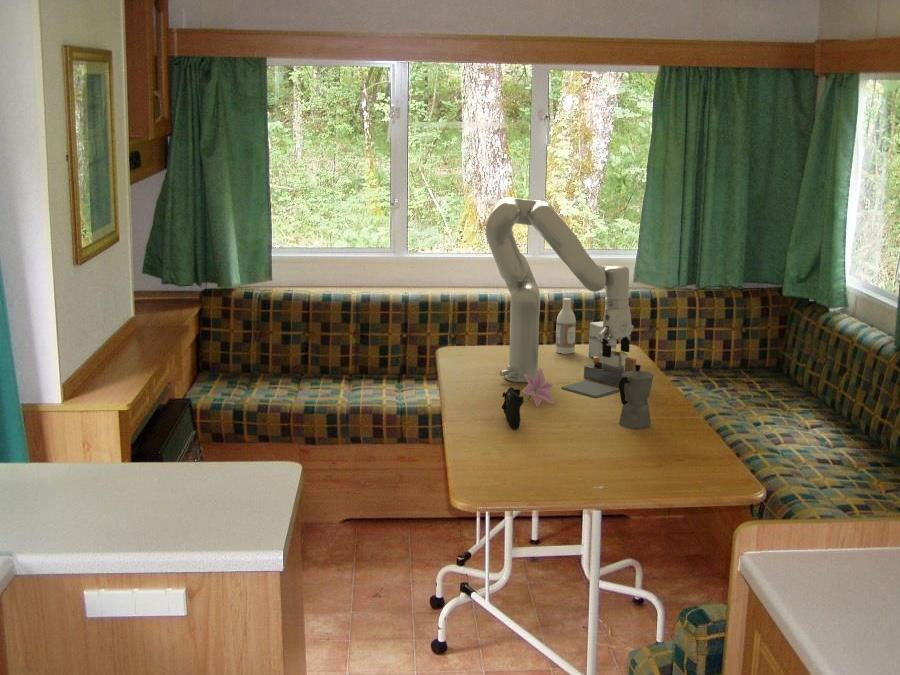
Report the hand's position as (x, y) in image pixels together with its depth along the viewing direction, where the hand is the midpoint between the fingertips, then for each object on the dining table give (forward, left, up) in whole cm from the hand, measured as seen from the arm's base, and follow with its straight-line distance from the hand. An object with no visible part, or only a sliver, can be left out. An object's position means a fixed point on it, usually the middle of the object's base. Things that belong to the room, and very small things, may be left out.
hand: (615, 354), depth 370 cm
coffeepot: (-34, -33, -9) cm, 49 cm away
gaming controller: (-59, -8, -10) cm, 61 cm away
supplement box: (+22, +23, -9) cm, 33 cm away
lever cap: (0, +1, -3) cm, 3 cm away
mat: (-14, -1, -9) cm, 17 cm away
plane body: (0, +1, -9) cm, 9 cm away
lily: (-38, 0, -10) cm, 39 cm away
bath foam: (+18, +37, -9) cm, 42 cm away
